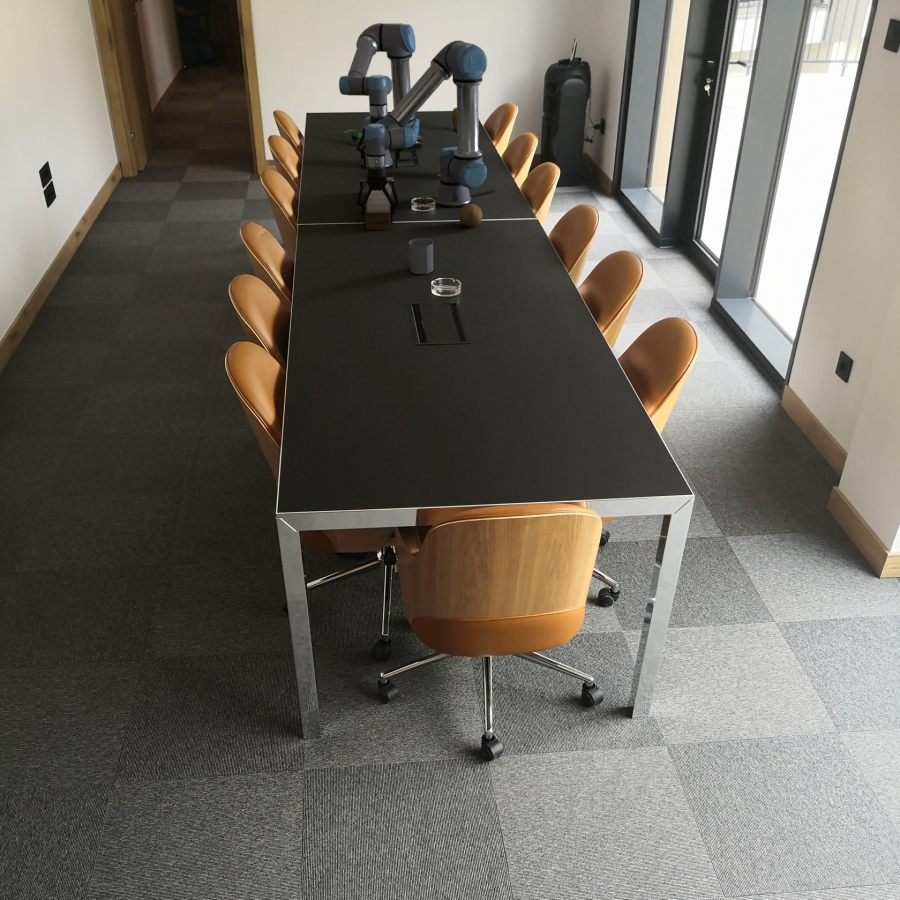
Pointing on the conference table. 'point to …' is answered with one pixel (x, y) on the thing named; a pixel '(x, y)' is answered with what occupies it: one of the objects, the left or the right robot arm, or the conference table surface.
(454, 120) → the yellow piece
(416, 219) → the conference table surface
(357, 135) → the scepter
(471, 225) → the potato
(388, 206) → the wooden beam
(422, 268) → the cup
